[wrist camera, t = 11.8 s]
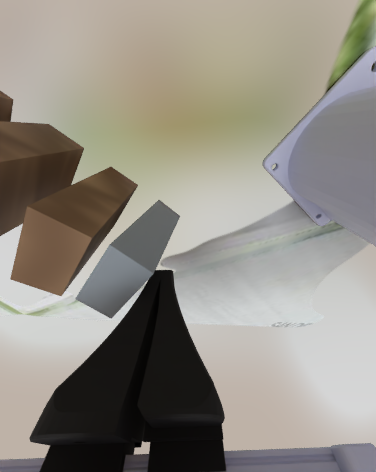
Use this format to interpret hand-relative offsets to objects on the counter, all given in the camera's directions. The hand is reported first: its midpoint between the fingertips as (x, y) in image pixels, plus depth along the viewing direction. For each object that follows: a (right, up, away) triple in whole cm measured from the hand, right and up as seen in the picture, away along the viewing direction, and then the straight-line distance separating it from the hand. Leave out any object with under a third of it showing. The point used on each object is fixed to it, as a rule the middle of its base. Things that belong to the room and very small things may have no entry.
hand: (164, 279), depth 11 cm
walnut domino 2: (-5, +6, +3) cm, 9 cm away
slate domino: (-1, +4, +4) cm, 6 cm away
